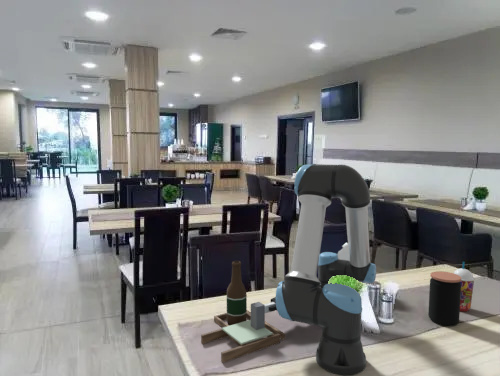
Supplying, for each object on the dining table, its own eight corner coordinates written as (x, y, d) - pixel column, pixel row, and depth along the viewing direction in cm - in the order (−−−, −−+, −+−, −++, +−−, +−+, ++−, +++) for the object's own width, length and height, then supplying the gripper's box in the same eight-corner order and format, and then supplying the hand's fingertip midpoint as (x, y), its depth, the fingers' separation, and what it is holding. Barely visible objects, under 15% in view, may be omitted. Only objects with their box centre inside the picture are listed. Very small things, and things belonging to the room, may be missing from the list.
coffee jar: (462, 320, 148) (464, 275, 146) (454, 329, 140) (457, 282, 138) (433, 312, 155) (435, 269, 153) (424, 321, 147) (426, 275, 146)
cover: (272, 334, 129) (272, 309, 129) (241, 344, 122) (241, 318, 122) (251, 320, 140) (251, 297, 139) (221, 329, 133) (221, 305, 132)
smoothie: (468, 315, 153) (471, 266, 151) (446, 308, 159) (448, 261, 157) (475, 309, 158) (478, 262, 156) (454, 303, 164) (456, 258, 163)
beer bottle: (244, 328, 140) (244, 265, 138) (223, 326, 142) (223, 264, 140) (248, 319, 148) (248, 259, 146) (229, 318, 149) (229, 258, 147)
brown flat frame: (286, 340, 132) (286, 332, 132) (222, 362, 118) (222, 353, 117) (243, 312, 154) (243, 305, 154) (185, 328, 140) (185, 320, 140)
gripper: (321, 311, 143) (270, 327, 130) (298, 300, 154) (249, 313, 141) (321, 292, 143) (270, 306, 130) (298, 282, 153) (249, 294, 141)
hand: (259, 310), depth 135 cm, fingers closed
